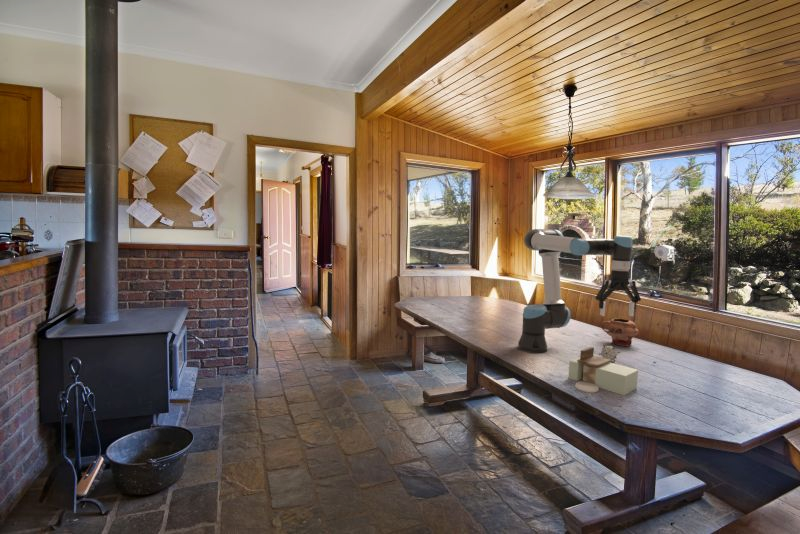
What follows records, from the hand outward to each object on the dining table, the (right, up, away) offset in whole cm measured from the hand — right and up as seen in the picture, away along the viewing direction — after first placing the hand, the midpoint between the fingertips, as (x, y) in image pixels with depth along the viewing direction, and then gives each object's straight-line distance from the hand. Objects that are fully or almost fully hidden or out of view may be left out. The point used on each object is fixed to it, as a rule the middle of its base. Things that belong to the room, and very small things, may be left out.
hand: (616, 315), depth 206 cm
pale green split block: (-13, -28, -13) cm, 33 cm away
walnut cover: (-15, -19, -11) cm, 27 cm away
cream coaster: (-22, -28, -20) cm, 41 cm away
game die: (+4, -25, +17) cm, 30 cm away
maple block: (-15, -27, -10) cm, 33 cm away
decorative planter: (+24, -21, +49) cm, 59 cm away
